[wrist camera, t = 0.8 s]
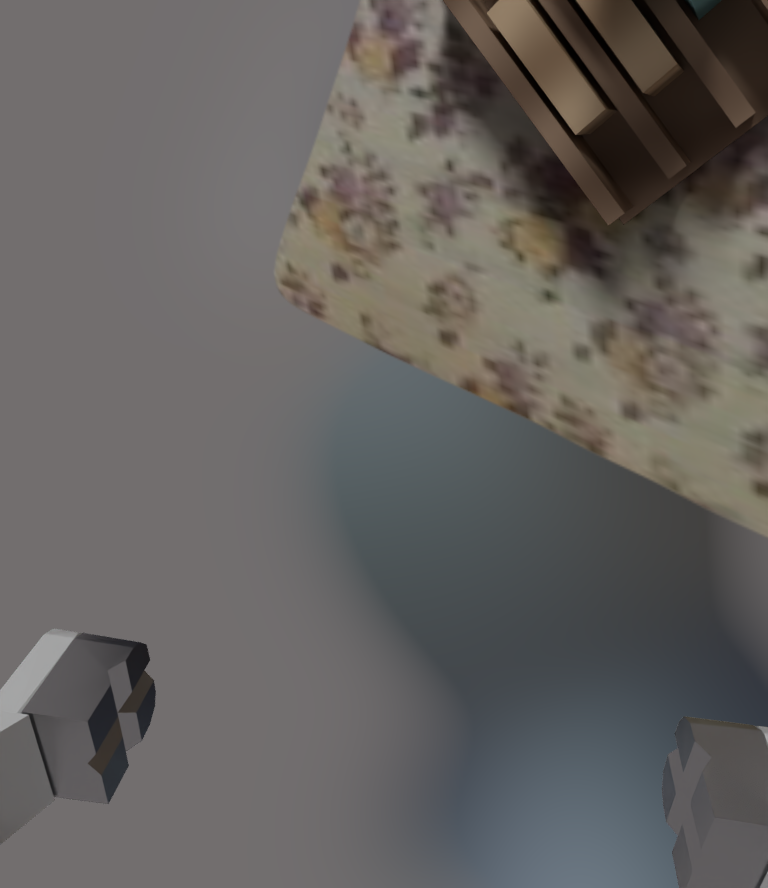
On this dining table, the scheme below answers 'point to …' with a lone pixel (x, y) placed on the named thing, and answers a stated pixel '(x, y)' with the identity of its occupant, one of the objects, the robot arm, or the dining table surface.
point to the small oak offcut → (553, 64)
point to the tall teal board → (701, 6)
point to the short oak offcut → (634, 43)
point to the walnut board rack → (643, 95)
